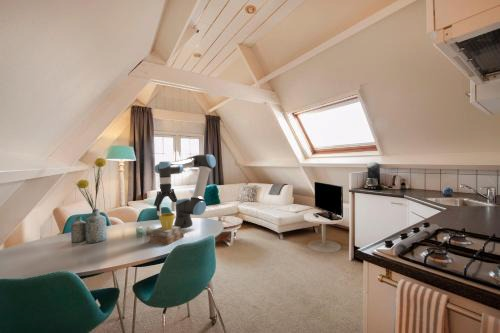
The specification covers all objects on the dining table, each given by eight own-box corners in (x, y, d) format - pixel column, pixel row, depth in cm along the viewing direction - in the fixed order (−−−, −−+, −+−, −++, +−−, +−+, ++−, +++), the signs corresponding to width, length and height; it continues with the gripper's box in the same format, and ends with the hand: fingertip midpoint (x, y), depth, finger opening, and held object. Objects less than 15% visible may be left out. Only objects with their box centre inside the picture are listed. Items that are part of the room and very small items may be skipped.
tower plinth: (166, 234, 168) (166, 224, 168) (183, 237, 162) (183, 226, 161) (149, 242, 153) (149, 230, 153) (167, 245, 147) (167, 233, 147)
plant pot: (175, 229, 155) (175, 215, 154) (159, 231, 151) (159, 217, 151) (174, 225, 164) (174, 212, 164) (159, 227, 160) (159, 213, 160)
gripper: (173, 181, 169) (174, 208, 170) (147, 185, 146) (148, 217, 147) (181, 181, 166) (182, 209, 167) (155, 185, 143) (157, 218, 144)
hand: (166, 213), depth 157 cm, fingers open, 13 cm apart
